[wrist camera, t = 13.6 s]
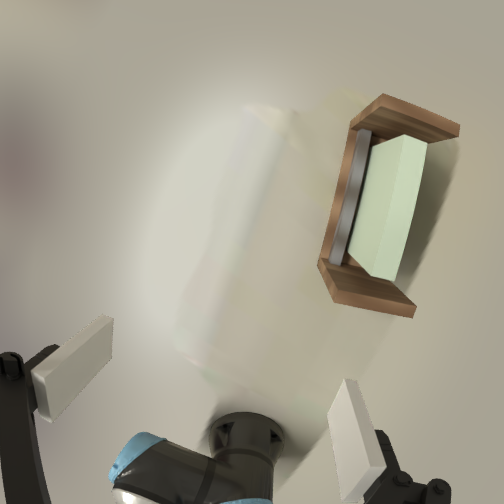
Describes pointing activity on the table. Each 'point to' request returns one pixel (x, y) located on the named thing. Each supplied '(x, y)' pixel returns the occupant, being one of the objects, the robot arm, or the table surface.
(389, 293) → the wooden rail bracket
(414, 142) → the door panel
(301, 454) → the table surface
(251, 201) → the table surface
